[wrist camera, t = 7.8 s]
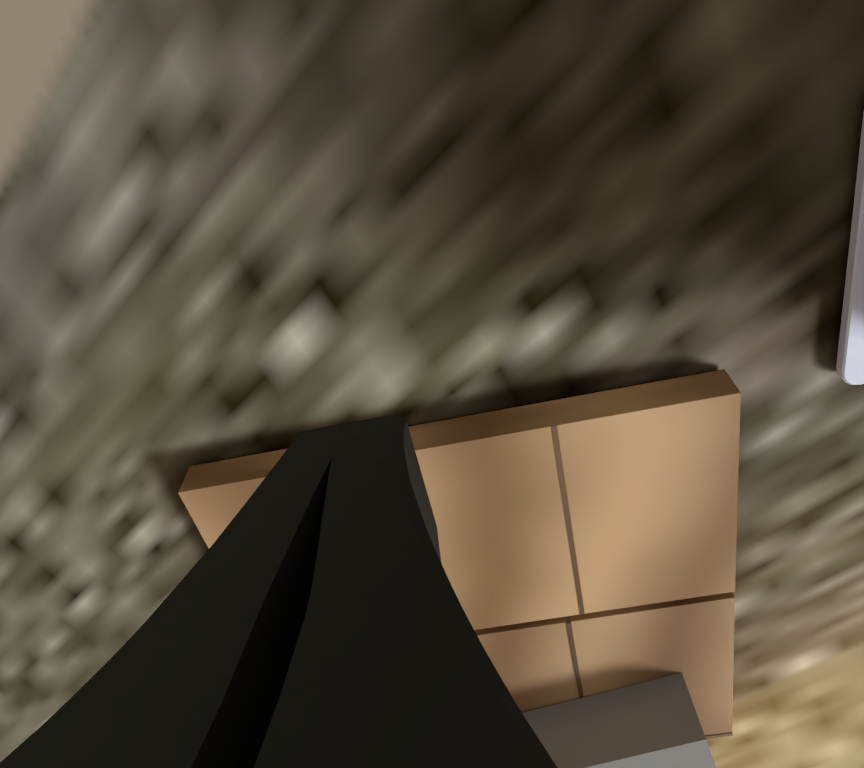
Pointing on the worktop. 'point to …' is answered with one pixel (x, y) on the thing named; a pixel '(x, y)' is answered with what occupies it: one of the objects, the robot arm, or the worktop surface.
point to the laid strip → (623, 655)
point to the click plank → (562, 499)
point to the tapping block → (625, 728)
